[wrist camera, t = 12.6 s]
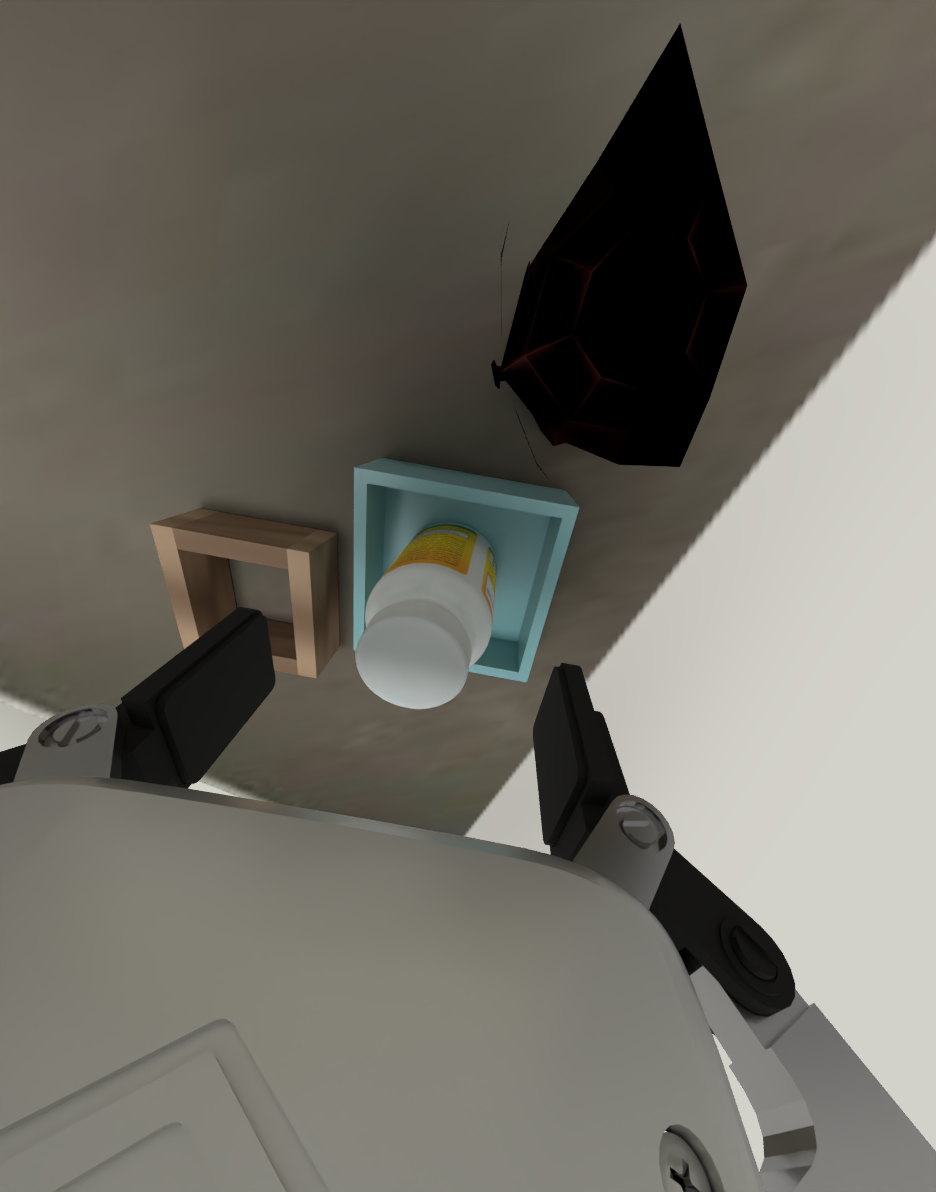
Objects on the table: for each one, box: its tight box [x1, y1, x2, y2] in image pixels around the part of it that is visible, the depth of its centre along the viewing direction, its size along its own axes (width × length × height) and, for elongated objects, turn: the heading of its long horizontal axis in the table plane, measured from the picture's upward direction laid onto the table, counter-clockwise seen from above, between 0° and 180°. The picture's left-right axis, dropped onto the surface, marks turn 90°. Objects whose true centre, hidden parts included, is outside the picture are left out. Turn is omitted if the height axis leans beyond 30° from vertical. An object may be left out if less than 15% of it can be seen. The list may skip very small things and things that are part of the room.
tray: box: [354, 458, 579, 682], centre depth 20 cm, size 10×10×4 cm
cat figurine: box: [491, 24, 747, 480], centre depth 11 cm, size 7×7×12 cm
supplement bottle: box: [355, 522, 497, 709], centre depth 17 cm, size 5×5×10 cm
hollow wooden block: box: [150, 508, 340, 678], centre depth 22 cm, size 9×9×4 cm
